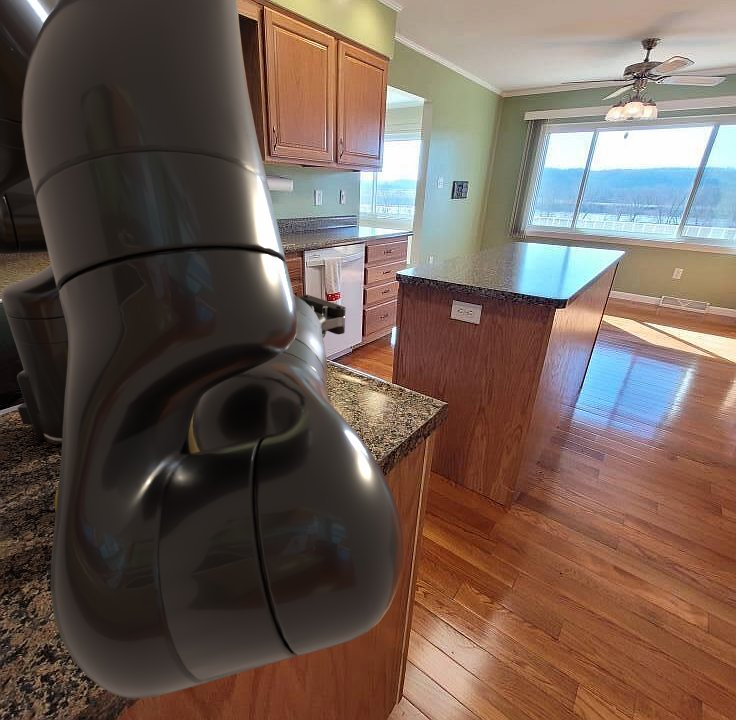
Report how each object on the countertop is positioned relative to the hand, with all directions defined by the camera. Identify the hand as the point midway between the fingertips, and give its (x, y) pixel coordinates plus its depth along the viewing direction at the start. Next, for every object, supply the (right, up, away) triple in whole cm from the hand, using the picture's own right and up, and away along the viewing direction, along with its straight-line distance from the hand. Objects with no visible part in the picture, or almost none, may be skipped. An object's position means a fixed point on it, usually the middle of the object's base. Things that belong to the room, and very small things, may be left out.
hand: (281, 295), depth 44 cm
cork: (-14, -20, +7) cm, 25 cm away
